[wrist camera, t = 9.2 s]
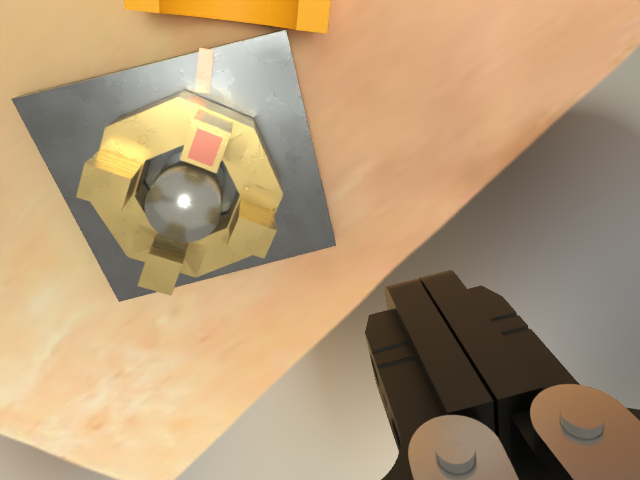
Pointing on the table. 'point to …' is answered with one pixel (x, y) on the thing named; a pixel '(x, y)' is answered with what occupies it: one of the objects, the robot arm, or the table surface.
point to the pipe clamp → (246, 11)
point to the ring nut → (199, 149)
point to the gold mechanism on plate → (167, 169)
